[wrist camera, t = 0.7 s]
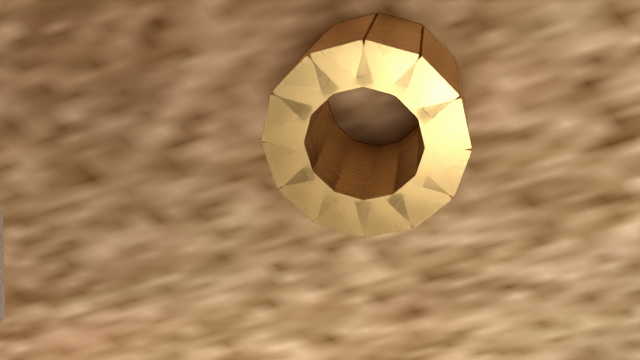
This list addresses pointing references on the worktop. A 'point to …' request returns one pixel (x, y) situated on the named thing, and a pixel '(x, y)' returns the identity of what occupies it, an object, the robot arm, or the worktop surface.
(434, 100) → the ring
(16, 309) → the worktop surface
